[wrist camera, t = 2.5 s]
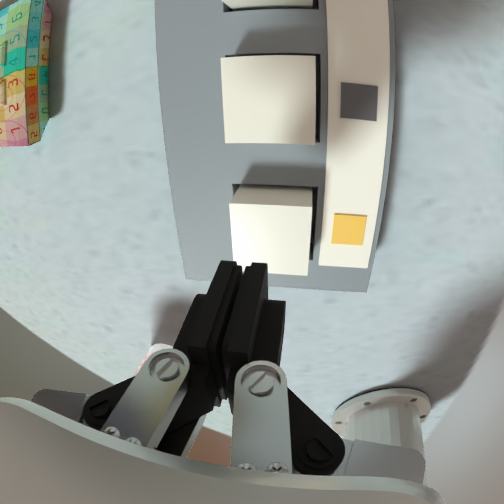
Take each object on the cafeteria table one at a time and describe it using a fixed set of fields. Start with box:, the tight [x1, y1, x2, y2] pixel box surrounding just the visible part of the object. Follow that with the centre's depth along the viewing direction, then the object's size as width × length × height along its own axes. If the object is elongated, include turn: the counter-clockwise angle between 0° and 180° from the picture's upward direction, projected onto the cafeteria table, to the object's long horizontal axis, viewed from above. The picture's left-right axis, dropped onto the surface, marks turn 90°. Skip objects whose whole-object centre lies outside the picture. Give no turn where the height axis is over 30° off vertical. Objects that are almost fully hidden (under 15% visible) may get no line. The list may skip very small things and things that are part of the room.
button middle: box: [220, 55, 316, 145], centre depth 13 cm, size 4×4×3 cm
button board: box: [155, 0, 395, 292], centre depth 15 cm, size 12×23×3 cm, turn 2°
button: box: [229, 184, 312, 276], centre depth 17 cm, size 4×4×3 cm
